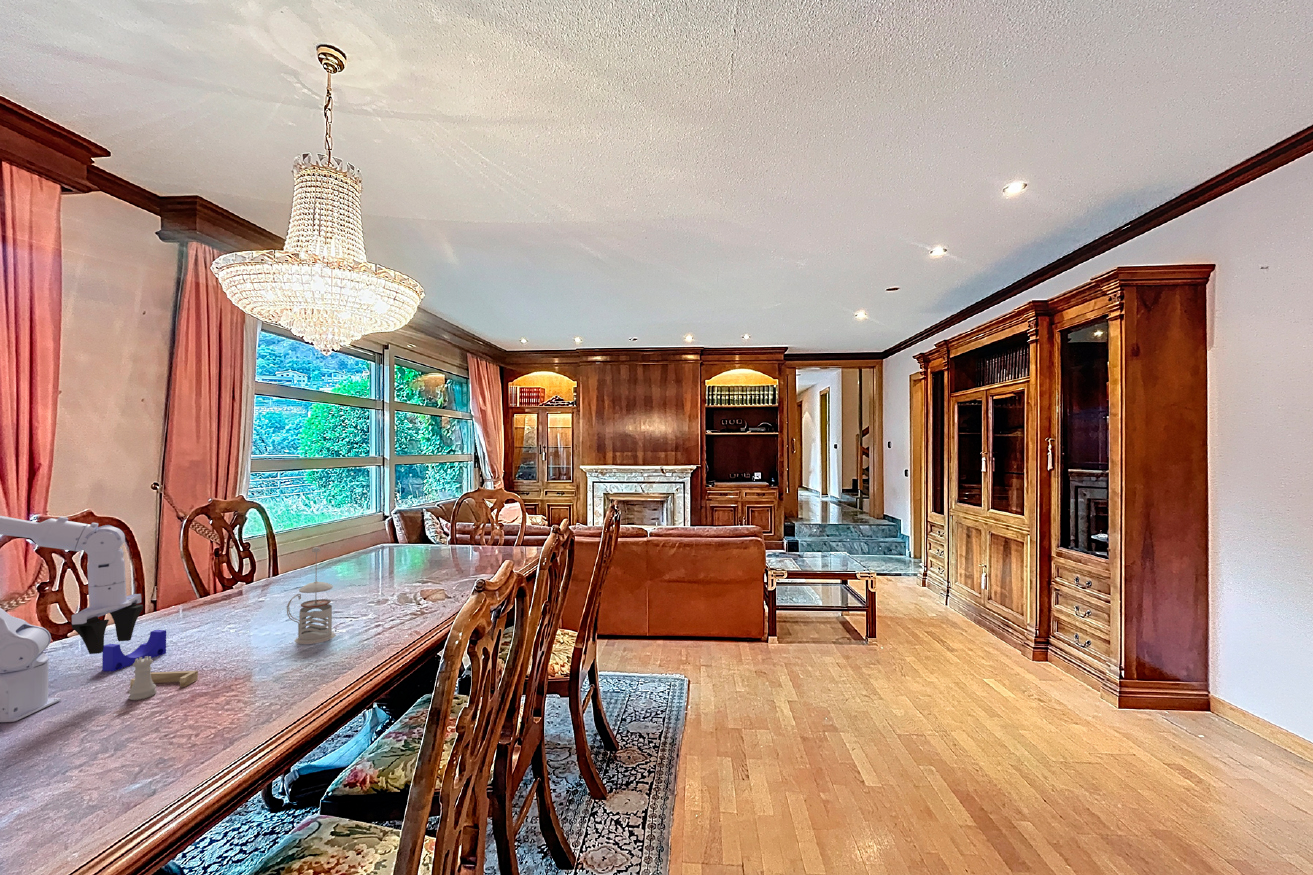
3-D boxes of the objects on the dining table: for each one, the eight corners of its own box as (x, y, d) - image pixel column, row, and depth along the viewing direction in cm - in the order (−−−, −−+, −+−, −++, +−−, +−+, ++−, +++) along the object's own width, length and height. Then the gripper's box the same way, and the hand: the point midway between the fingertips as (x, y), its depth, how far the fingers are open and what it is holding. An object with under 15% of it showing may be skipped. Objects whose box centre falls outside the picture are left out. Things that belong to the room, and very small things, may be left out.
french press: (332, 641, 152) (333, 548, 152) (282, 646, 148) (283, 551, 148) (338, 630, 161) (339, 543, 162) (291, 635, 157) (292, 545, 157)
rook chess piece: (154, 689, 122) (154, 652, 122) (158, 695, 119) (159, 657, 119) (126, 696, 118) (126, 658, 118) (130, 703, 115) (130, 663, 115)
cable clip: (151, 652, 144) (151, 629, 144) (166, 653, 143) (166, 630, 143) (97, 670, 132) (97, 645, 133) (112, 672, 132) (112, 646, 132)
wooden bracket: (184, 686, 123) (184, 677, 123) (130, 689, 122) (130, 679, 122) (197, 679, 127) (197, 670, 127) (145, 681, 126) (145, 672, 126)
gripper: (97, 591, 113) (100, 658, 113) (154, 573, 127) (157, 633, 128) (58, 594, 112) (62, 661, 112) (120, 575, 127) (124, 635, 127)
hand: (110, 646), depth 120 cm, fingers open, 6 cm apart
